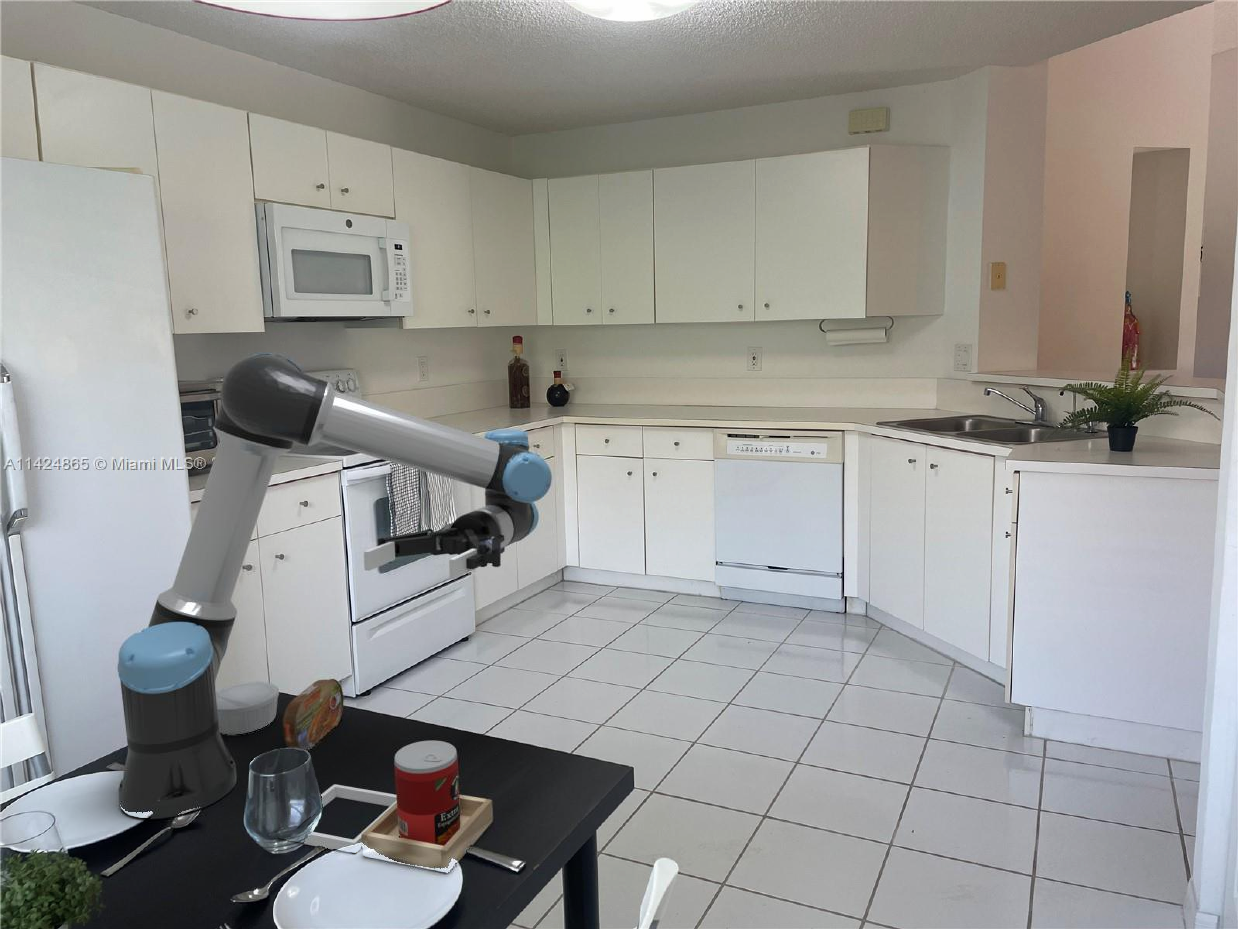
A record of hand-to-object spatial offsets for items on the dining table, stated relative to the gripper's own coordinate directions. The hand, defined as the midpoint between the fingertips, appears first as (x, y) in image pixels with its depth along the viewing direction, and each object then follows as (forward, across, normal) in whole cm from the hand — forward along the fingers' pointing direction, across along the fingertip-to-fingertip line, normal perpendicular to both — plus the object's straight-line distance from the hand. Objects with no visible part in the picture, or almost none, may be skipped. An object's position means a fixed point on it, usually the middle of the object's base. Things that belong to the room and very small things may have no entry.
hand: (408, 565), depth 120 cm
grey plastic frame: (+11, +4, -33) cm, 35 cm away
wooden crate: (+10, -9, -33) cm, 36 cm away
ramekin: (-10, +40, -34) cm, 53 cm away
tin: (-9, +24, -34) cm, 43 cm away
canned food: (+10, -9, -32) cm, 35 cm away
